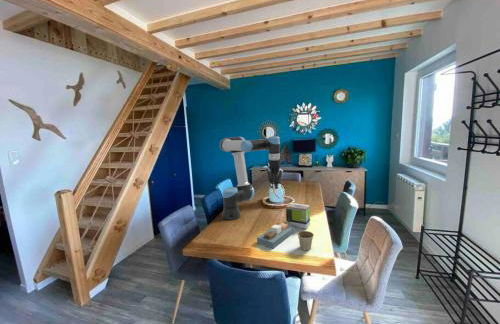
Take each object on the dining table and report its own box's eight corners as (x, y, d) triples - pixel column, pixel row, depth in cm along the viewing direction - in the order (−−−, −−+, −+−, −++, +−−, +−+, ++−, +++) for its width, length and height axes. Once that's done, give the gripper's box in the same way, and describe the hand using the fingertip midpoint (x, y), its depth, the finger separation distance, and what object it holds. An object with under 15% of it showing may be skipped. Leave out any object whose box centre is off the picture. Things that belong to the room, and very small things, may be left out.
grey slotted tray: (257, 243, 148) (256, 237, 147) (279, 228, 168) (279, 223, 167) (273, 249, 140) (272, 242, 140) (294, 232, 160) (294, 227, 160)
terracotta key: (277, 230, 160) (277, 225, 159) (281, 228, 163) (281, 222, 163) (284, 232, 157) (284, 226, 156) (287, 230, 160) (287, 224, 160)
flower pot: (312, 253, 134) (312, 239, 133) (296, 250, 138) (295, 236, 136) (314, 245, 143) (314, 232, 141) (298, 243, 146) (298, 229, 145)
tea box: (310, 224, 173) (310, 204, 171) (306, 229, 165) (306, 209, 162) (290, 220, 181) (290, 202, 178) (285, 225, 172) (285, 206, 170)
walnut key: (264, 240, 147) (263, 234, 147) (268, 237, 151) (268, 231, 150) (270, 242, 144) (270, 236, 144) (274, 239, 148) (274, 233, 147)
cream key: (271, 232, 153) (271, 226, 153) (275, 230, 157) (275, 224, 156) (277, 234, 150) (277, 228, 150) (281, 231, 154) (281, 226, 153)
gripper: (263, 159, 161) (264, 192, 165) (279, 160, 153) (280, 196, 157) (269, 158, 167) (270, 190, 171) (285, 159, 159) (285, 193, 162)
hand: (274, 193), depth 164 cm, fingers closed
